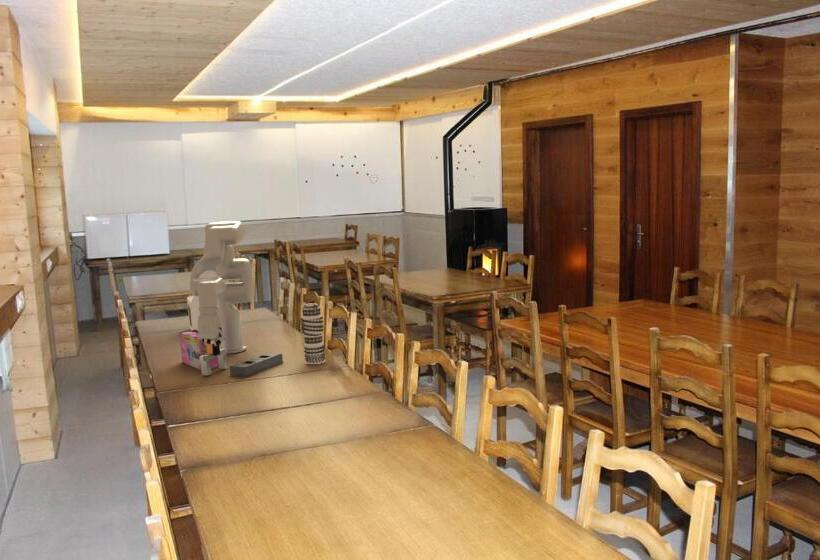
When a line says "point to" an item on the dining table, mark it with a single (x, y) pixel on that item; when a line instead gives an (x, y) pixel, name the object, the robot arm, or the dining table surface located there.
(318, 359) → the decorative candle
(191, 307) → the gable box
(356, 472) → the dining table surface
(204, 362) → the clip
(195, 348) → the gum box
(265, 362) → the grey block with holes
